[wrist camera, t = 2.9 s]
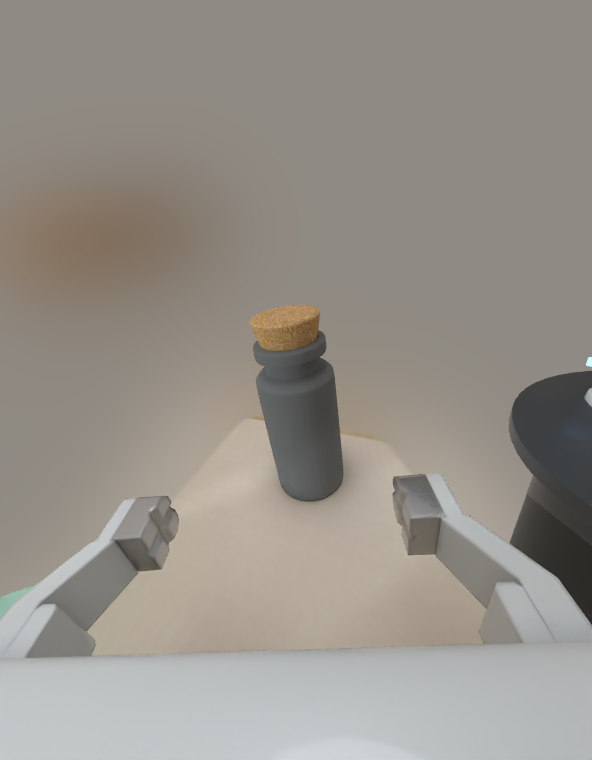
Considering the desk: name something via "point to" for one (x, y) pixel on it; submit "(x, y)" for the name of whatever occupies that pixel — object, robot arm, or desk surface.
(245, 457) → the desk surface
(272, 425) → the bottle
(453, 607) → the desk surface
